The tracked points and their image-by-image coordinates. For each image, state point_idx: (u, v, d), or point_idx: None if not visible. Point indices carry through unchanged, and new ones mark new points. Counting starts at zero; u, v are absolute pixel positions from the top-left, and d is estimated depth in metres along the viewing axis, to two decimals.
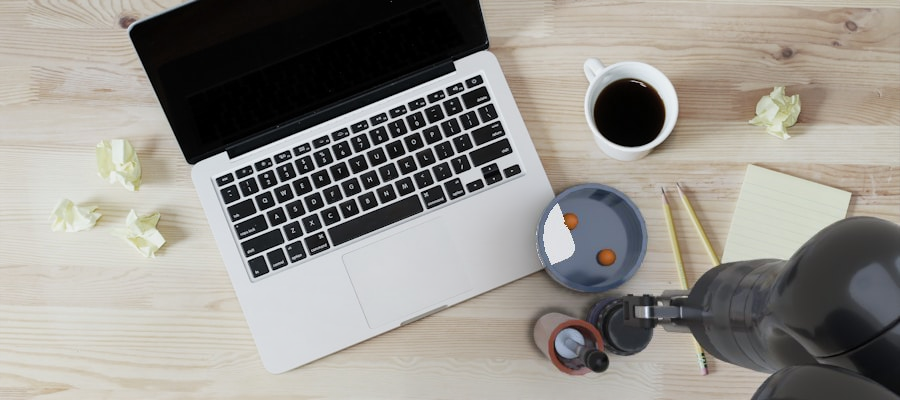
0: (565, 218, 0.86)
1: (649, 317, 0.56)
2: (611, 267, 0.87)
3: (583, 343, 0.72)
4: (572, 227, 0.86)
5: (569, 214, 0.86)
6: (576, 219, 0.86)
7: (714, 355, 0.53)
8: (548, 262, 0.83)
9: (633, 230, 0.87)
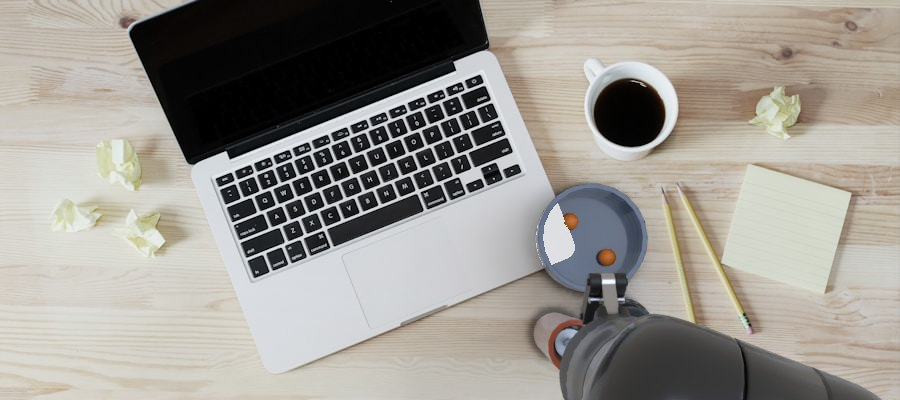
0: (565, 218, 0.86)
1: (602, 278, 0.49)
2: (611, 267, 0.87)
3: None
4: (572, 227, 0.86)
5: (569, 214, 0.86)
6: (576, 219, 0.86)
7: (572, 340, 0.44)
8: (548, 262, 0.83)
9: (633, 230, 0.87)
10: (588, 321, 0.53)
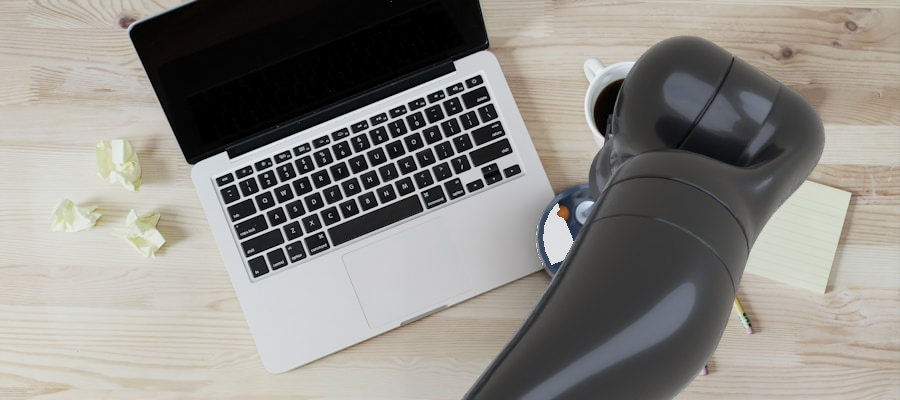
0: None
1: None
2: None
3: None
4: None
5: None
6: (560, 206, 0.87)
7: (599, 151, 0.59)
8: (548, 262, 0.83)
9: None
10: None
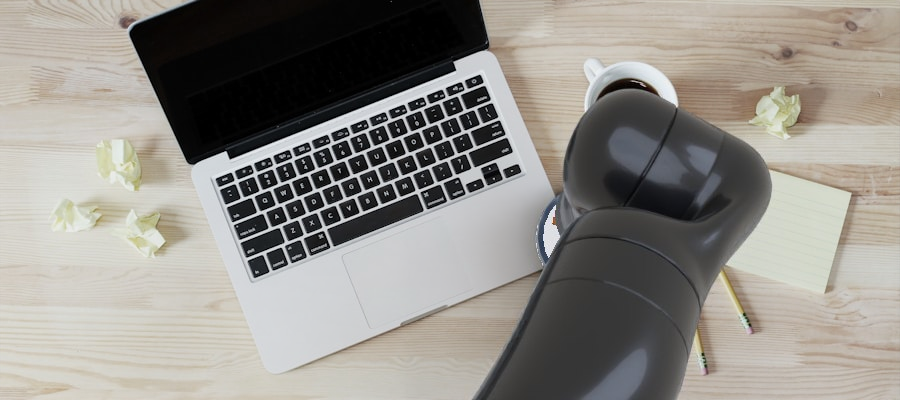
0: None
1: None
2: None
3: None
4: None
5: None
6: None
7: None
8: None
9: None
10: None
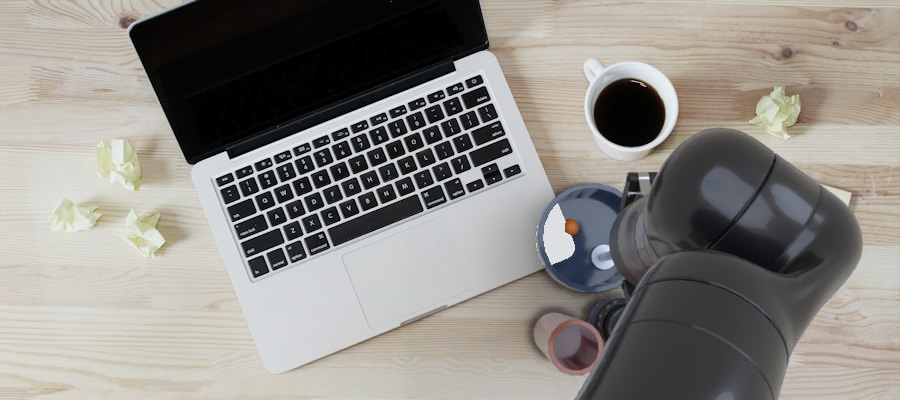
0: (570, 220, 0.86)
1: (638, 175, 0.63)
2: None
3: None
4: (578, 229, 0.86)
5: (569, 219, 0.87)
6: None
7: (620, 214, 0.58)
8: (548, 262, 0.83)
9: None
10: None
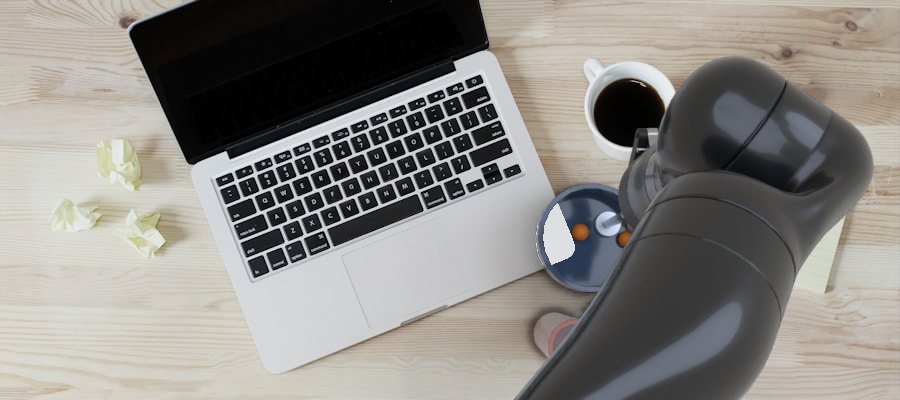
0: (587, 228, 0.86)
1: (648, 131, 0.64)
2: (611, 267, 0.87)
3: (620, 223, 0.86)
4: None
5: (582, 224, 0.86)
6: None
7: (629, 166, 0.59)
8: (548, 262, 0.83)
9: None
10: None
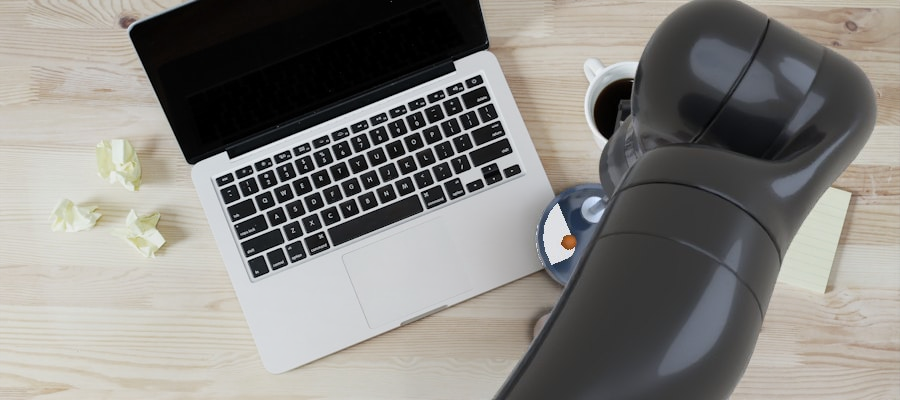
0: (563, 245, 0.86)
1: None
2: None
3: None
4: (573, 239, 0.86)
5: None
6: (566, 235, 0.86)
7: None
8: (548, 262, 0.83)
9: None
10: None
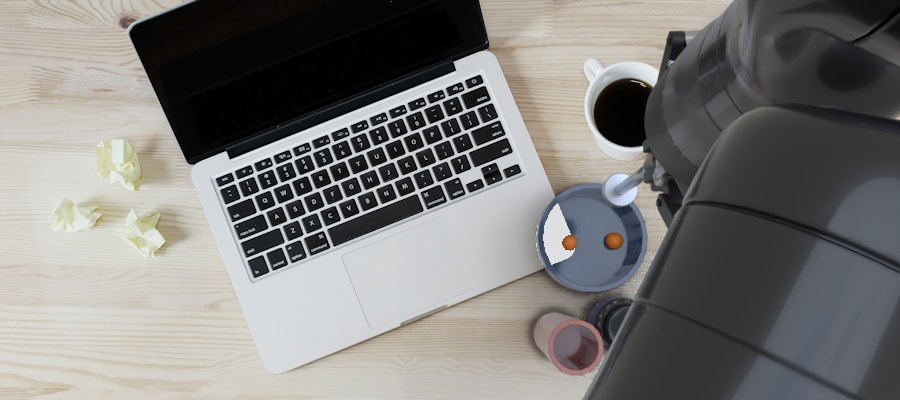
0: (565, 245, 0.86)
1: (685, 34, 0.43)
2: (611, 267, 0.87)
3: (636, 189, 0.66)
4: (575, 241, 0.86)
5: None
6: (568, 235, 0.86)
7: (662, 75, 0.38)
8: (548, 262, 0.83)
9: (633, 230, 0.87)
10: None
